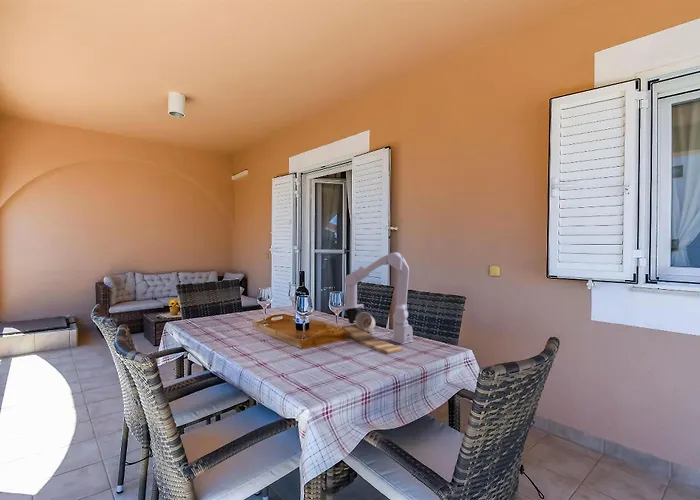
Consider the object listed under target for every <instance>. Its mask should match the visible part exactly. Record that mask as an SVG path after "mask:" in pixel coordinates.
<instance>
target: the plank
mask: <svg viewBox="0 0 700 500" xmlns="http://www.w3.org/2000/svg"><path fill="white" fill-rule="evenodd" d="M341 330H343V331H344V332H345V333H346V334H348V335H349V336H351V338H353V339H354V340H355V341H356V342H357V343H359V344H360V340H364V339H369V338H374V337H375V336H372V335H371V334H370V333H369V332H367V331H364V330H363V329H360V328H359V327H358V326H357V325H356V323H352V324H349V325H342V326H341Z"/></svg>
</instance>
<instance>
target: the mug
mask: <svg viewBox="0 0 700 500" xmlns="http://www.w3.org/2000/svg"><path fill="white" fill-rule="evenodd" d="M354 323H355V324H356V325H357V326H358V327H359V328H360V329H363V330H364V331H366V332H367V333H369V332H370V333H371V334H372V335H375V334H376V332H375V330H374V329H375V327H376V319H375V318H374V316H372V315H371V314H370V313H369V312H366V311H363V312H360V313H359V312H358V313H357V314H356V316H355V319H354Z"/></svg>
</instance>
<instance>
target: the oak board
mask: <svg viewBox="0 0 700 500" xmlns="http://www.w3.org/2000/svg"><path fill="white" fill-rule="evenodd" d="M373 337H374V338H369V339H364V340H360V343H359V344H360V345H363V346H366V347H368V348H370V349H374V350H376V351H379V352H380V353H384V354H385V355H386V354H387V355H391V354H395V353H399V352H402V351H403V350H404V349H403V347H401V346H398V345H395V344H392V343H390V342H387V341H385V340H381V339H379V338H376V337H375V336H373Z"/></svg>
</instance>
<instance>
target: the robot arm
mask: <svg viewBox="0 0 700 500" xmlns="http://www.w3.org/2000/svg"><path fill="white" fill-rule="evenodd" d="M388 265H390V266H391V267H393V268H394V269H395V270H396V271H398V281H397V282H398V284H397V295H396V296H397V297H396V305H395V309H394V313H393V315H392V320H393V325H392V327H393V328H392V329H393V330H392V331H393V332H392V333H393V334H392V335H393V336H392V337H391V338H389V340H390V341H392V342H395V343H398V344H401V345H405V344H408V343H413V342H414V340H413V338H414V337H413V336H414V335H413V333H414V329H413V327H412V325H410V324H409V321H408V317H409V311H408V304H407V302H408V289H409V277H410V267H409V265H408V263H407V261H406V259H405V257H404V255H402V253H400V252H399V251H395V252H390V253H388V254H387V255H383V256H381V257H380V258H378V259H377V260H375V261H374V262H372V263H371V264H370V265H367V266H365V265H363V266H359V267H358V269H356V270H355V271H351V273H350V274H347V275H346V276H345V278H344V282H345V286H346V288H345V305H341V306H339V307H338V311H340V312H342V311H344V312H345V314H346V316H347V319H348V323H349V324H350V325H353V324H355V320H356V317H357V315H358V313H359V309H364V305H365V304H363V303H358V283H359V282H361V281H363V280H364V279H366V278H367V277H370V275H371V272H372V271H375V270H376V269H378V268H379V267H382V266H388Z"/></svg>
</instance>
